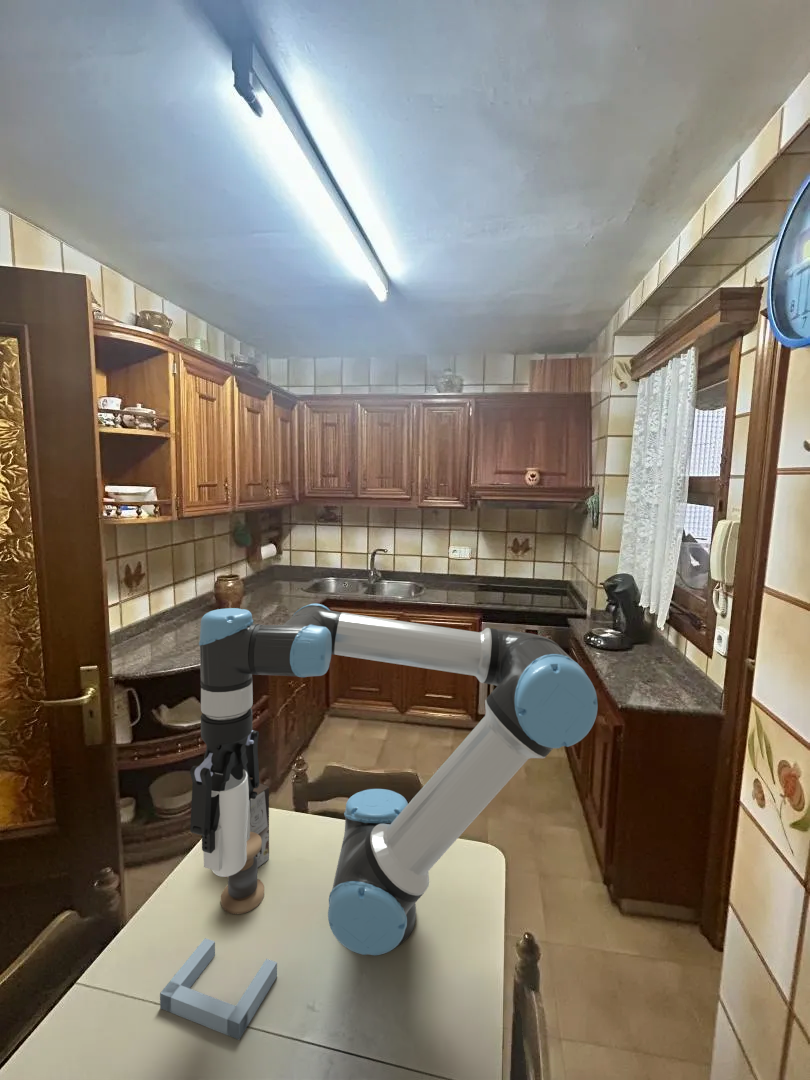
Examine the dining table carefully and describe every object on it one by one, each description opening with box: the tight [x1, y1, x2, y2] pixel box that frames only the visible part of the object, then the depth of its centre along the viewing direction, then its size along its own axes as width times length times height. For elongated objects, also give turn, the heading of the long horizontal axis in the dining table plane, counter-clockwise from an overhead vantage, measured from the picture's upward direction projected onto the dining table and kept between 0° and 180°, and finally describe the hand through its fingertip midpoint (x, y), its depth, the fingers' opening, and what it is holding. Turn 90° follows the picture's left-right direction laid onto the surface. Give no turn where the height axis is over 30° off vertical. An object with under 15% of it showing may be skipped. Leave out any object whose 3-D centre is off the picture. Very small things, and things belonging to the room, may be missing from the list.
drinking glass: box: [211, 769, 249, 878], centre depth 78 cm, size 7×7×15 cm
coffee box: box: [250, 782, 270, 869], centre depth 106 cm, size 9×6×16 cm
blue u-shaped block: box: [159, 937, 278, 1041], centre depth 78 cm, size 14×10×2 cm
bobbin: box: [220, 832, 265, 915], centre depth 96 cm, size 8×8×11 cm
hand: (227, 851), depth 78 cm, fingers closed on drinking glass, 6 cm apart
